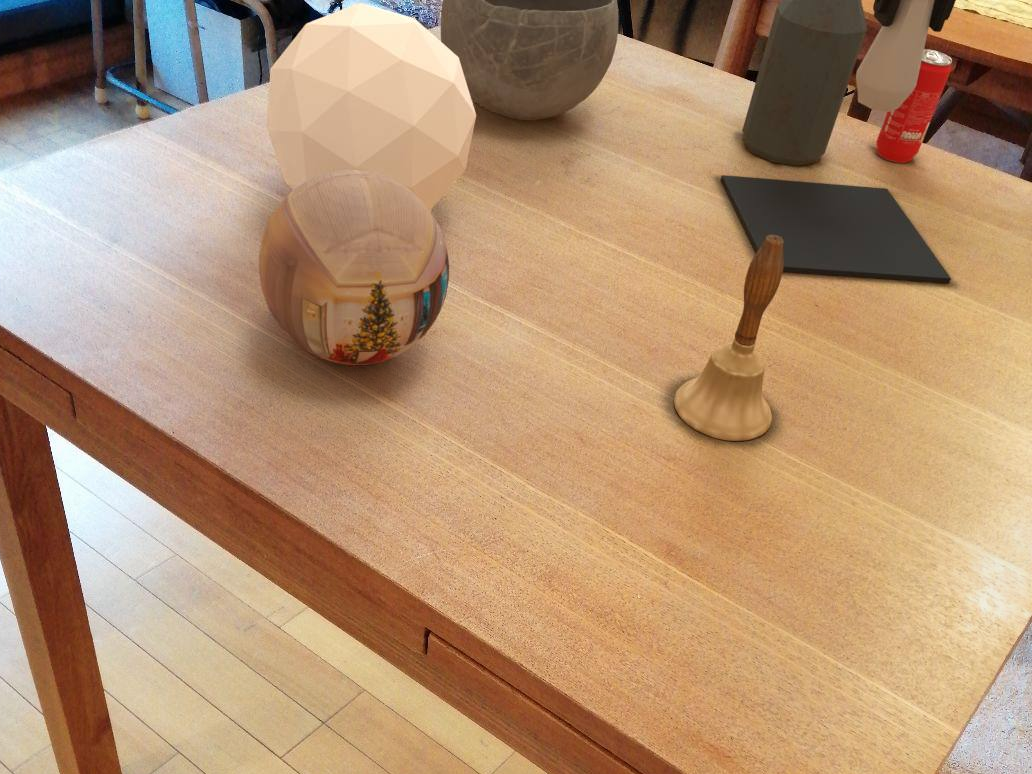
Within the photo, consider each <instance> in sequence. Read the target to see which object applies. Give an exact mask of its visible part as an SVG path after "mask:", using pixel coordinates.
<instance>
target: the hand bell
mask: <svg viewBox="0 0 1032 774" xmlns="http://www.w3.org/2000/svg"><path fill="white" fill-rule="evenodd" d="M783 274H784V272H783V239H782V237H780V236H777V235H769V236H767V237H766V239H765V241H764V243H763V245H762V246H761V248H760V249H759V250H758V252H757V253H756V252H755V255H754V256H753V258H752V259H751V261H750V263H749V266H748V268H747V272H746V275H745V278H744V279H745V280H744V285H743V308H742V314H741V316H740V318H739V319H740V320H739V322H738V325H737V327H736V331H735V333H734V339H733V342H725V343H722V344H719V345H718V346H716V347H715V348H714V349H713V350H712V352H711V354H710V356H709V358H708V361H707V363H706V364H705V366H704V368H703V369H702V371H701V372H700V374H699V375H698V376H697V377H694V378H692V379H690V380H688V381H686V382H684V383H683V384H682V385H680V386H679V388H678V389H677V390H676V391H675V394H674V397H673V404H674V405H673V406H674V408H675V411H676V412H677V414H678V416H679V417H680V419H681V420H682V421H683V422H684V423H685V424H686V425H687V426H689V427H691V428H692V429H694V430H695V431H697V432H699V433H701V434H703V435H706V436H709V437H711V438H714V439H717V440H721V441H722V440H723V441H730V442H741V441H750V440H753V439H756V438H759V437H761V436H762V435H764V434H765V433H767V431H768V430H769V429H770V427H771V425H772V420H773V416H772V410H771V408H770V405H769V403H768V401H767V400H766V398H765V397H764V395H763V393H764V392H763V386H764V385H763V383H764V376H765V371H766V367H767V366H766V364H767V363H766V360H765V358H764V356H763V354H761V353H760V352H759V351H758V350H756V349H755V346H756V341H757V338H758V333H759V329H760V325H761V321H762V318H763V315H764V313H765V311H766V309H767V308H768V307H769V305H770V303H771V302H772V301H773V299H774V297H775V296H776V294H777V291H778V289H779V287H780V284H781V280H782V277H783Z"/></svg>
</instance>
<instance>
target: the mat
mask: <svg viewBox="0 0 1032 774" xmlns="http://www.w3.org/2000/svg"><path fill="white" fill-rule="evenodd" d="M720 181H721V184H722V186H723V187H724V190H725V192H726V194H727V196H728V198H729V200H730V202H731V204H732V206H733V208H734V211H735V212H736V215H737V216H738V219H739V220H740V223H741V225H742V227H743V229H744V231H745V233H746V235H747V237H748V239H749V241H750V244H751V245H752V247H753V249H754V250H753V251H754V252H755V254H756V253H757V252H758V250H759V249H760V248H761V246H762V245H763V243H764V241H765V239H766V237H767V236H769V235H777V236H780V237H782V239H783V273H796V274H812V275H825V276H842V277H853V278H854V277H855V278H869V279H881V280H882V279H884V280H896V281H908V282H909V281H910V282H912V281H913V282H924V283H937V284H938V283H940V284H950V282H951V280H952V277H951V276H950V275H949V273H948V272H947V270H946V269H945V268H944V266H943V265H942V263H941V262H940V260H939V259H938V258H937V256H936V255H935V254H934V252H933V250H932V249H931V247H930V246H929V245H928V244H927V242H926V241H925V240H924V238H923V237H922V235H921V234H920V233H919V231H918V230H917V228H916V227H915V225H914V224H913V222H912V221H911V220H910V219H909V217H908V216H907V214H906V213H905V211H904V210H903V209H902V208H901V206H900V204H899V203H898V202H897V200H896V199H895V198H894V196H893V195H892V193H891V192H890V191H889V189H888V188H883V187H874V186H873V187H872V186H860V185H859V186H858V185H848V184H836V183H835V184H834V183H823V182H811V181H798V180H788V179H776V178H775V179H774V178H764V177H763V178H761V177H751V176H737V175H726V174H722V175H721V176H720Z"/></svg>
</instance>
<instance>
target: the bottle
mask: <svg viewBox="0 0 1032 774" xmlns="http://www.w3.org/2000/svg"><path fill="white" fill-rule="evenodd" d="M770 27H771V28H770V31H769V34H768V37H767V41H766V44H765V48H764V52H763V55H762V59H761V63H760V66H759V69H758V73H757V77H756V79H755V83H754V86H753V90H752V94H751V97H750V101H749V105H748V108H747V112H746V116H745V119H744V123H743V126H742V130H741V131H742V136H743V140H744V145H745V148H746V149H747V150H748V151H749V152H750V153H751V154H753V155H755V156H758V157H759V158H762V159H764V160H767V161H769V162H771V163H773V164H774V163H775V164H782V165H787V166H794V167H799V166H805V165H810V164H815V163H816V162H817V161H818V160H820V158H821V157H822V156H823V155H825V153H826V151H827V148H828V145H829V143H830V139H831V136H832V134H833V131H834V128H835V124H836V121H837V118H838V115H839V113H840V109H841V107H842V104H843V100H844V98H845V94H846V92H847V89H848V86H849V83H850V80H851V77H852V74H853V72H854V68H855V65H856V62H857V59H858V56H859V53H860V51H861V48H862V45H863V42H864V39H865V36H866V33H867V30H868V26H867V21H866V16H865V11H864V6H863V1H862V0H781V1H780V2H779V3H778V5H777V6H776V9H775V12H774V16H773V19H772V23H771V26H770Z"/></svg>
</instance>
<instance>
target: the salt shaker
mask: <svg viewBox="0 0 1032 774" xmlns="http://www.w3.org/2000/svg"><path fill="white" fill-rule="evenodd" d="M933 5H934V0H901V1H900V4H899V6H898V9H897V12H896V15H895V18H894V20H893V23H892V25H890V26H889V27H885V26H882V25H881V27H880V29H879V31H878V33H877V35H876V36H875V38H874V39H873V42H872V43H871V45H870V47H869V48H868V51H867V52H866V54H865V56H864V58H863V60H862V61H861V63H860V65H858V66H859V67H858V68H857V69H856V74H855V83H856V90H857V102H858V103H859V104H861V105H863V106H864V107H866V108H868V109H870V110H873V111H874V110H876V111H880V112H886V113H887V112H891V111H893V110H895V109H898V108H899V107H900V106H901V104H902V103H903V102H904V101H905V100H906V99H907V97H908V96H909V95H910V94H911V93H912V92H913V90H914V88H915V87H916V84H917V79H918V75H919V70H920V65H921V61H922V56H923V51H924V49H925V48H926V47H925V46H926V42H927V37H928V32H929V28H930V27H929V23H930V19H931V14H932V9H933Z"/></svg>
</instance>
